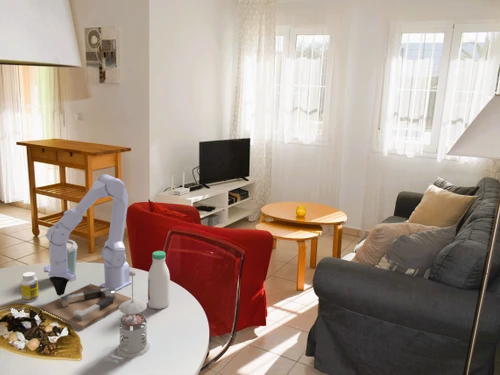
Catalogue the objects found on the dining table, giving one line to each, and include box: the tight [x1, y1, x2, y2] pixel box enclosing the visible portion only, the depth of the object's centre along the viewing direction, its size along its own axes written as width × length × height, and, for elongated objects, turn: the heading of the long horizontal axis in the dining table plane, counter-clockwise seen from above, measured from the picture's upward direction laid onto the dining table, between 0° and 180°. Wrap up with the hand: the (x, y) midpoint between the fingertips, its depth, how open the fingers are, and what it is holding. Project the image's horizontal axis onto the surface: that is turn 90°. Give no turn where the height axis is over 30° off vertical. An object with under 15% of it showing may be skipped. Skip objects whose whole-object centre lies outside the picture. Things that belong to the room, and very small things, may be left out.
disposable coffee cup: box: [66, 239, 79, 275], centre depth 168 cm, size 11×11×15 cm
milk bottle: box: [147, 250, 171, 310], centre depth 151 cm, size 8×8×20 cm
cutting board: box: [39, 283, 132, 331], centre depth 149 cm, size 22×21×2 cm
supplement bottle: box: [20, 271, 39, 303], centre depth 152 cm, size 5×5×10 cm
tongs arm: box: [60, 287, 117, 307], centre depth 150 cm, size 18×6×2 cm, turn 122°
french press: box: [116, 270, 151, 359], centre depth 125 cm, size 10×12×25 cm
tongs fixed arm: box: [74, 297, 113, 320], centre depth 144 cm, size 14×4×2 cm, turn 152°
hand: (60, 294), depth 152 cm, fingers closed
